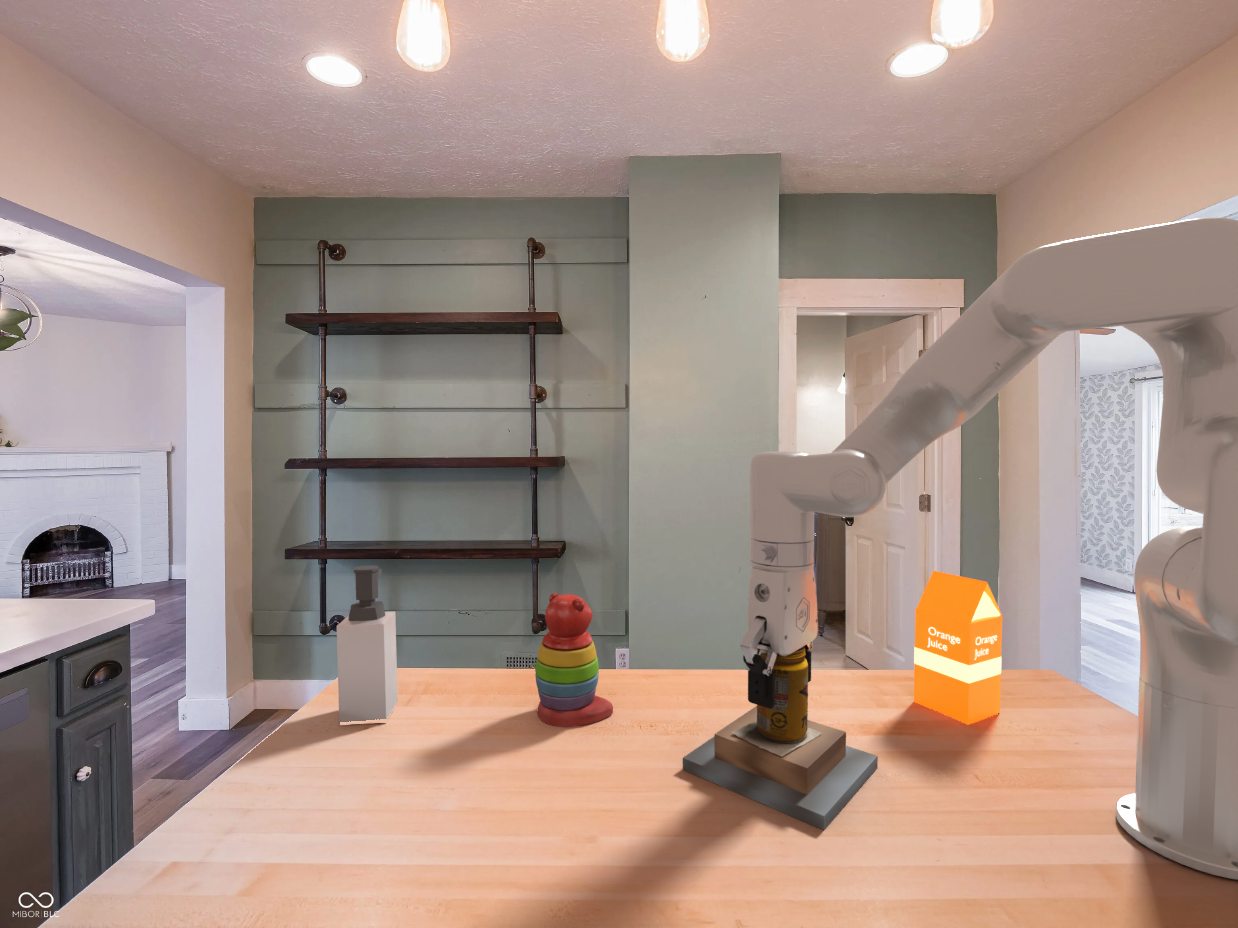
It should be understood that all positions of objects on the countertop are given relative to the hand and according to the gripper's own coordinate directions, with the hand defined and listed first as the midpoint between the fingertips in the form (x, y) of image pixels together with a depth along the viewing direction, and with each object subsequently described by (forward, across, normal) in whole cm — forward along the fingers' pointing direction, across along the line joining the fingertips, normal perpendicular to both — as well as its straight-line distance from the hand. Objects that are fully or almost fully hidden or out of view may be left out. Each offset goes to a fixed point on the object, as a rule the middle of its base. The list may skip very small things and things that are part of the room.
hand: (780, 691), depth 76 cm
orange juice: (+10, +33, -12) cm, 36 cm away
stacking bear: (+10, -6, +31) cm, 33 cm away
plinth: (+10, 0, 0) cm, 10 cm away
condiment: (+5, -1, 0) cm, 5 cm away
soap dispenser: (+10, -25, +54) cm, 60 cm away
